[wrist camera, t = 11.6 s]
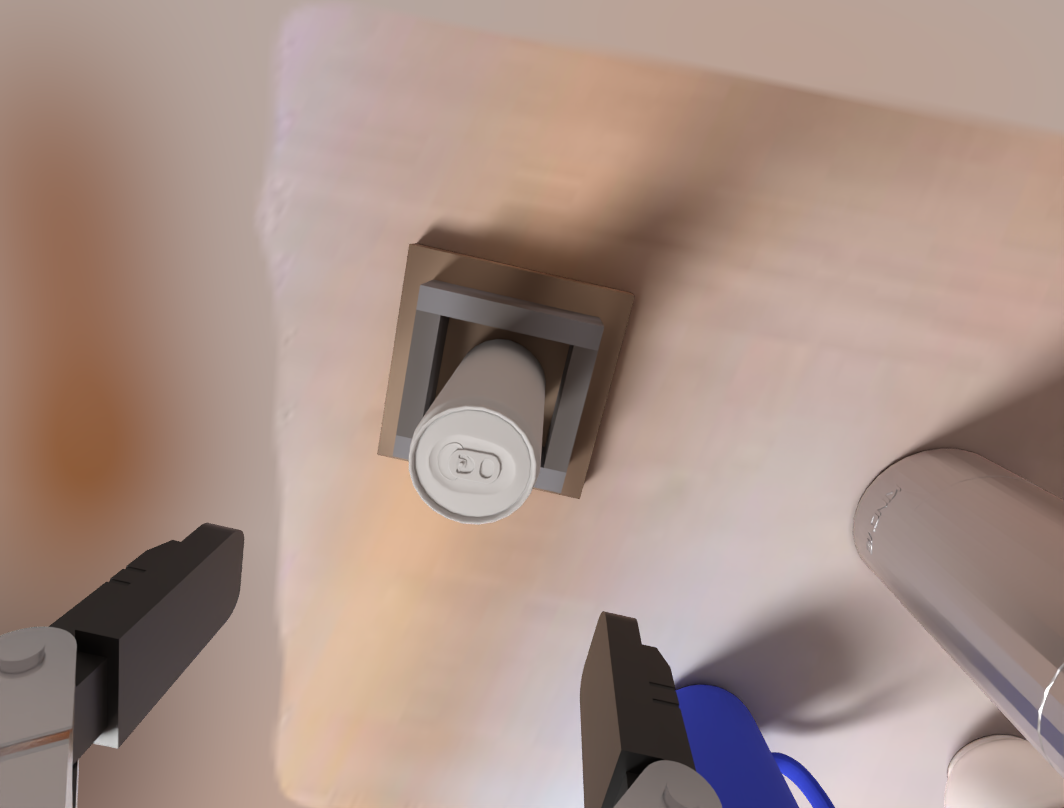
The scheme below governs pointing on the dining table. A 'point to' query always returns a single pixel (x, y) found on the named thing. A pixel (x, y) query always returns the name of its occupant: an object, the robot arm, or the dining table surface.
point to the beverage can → (482, 436)
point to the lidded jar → (1002, 776)
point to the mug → (740, 754)
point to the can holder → (522, 317)
